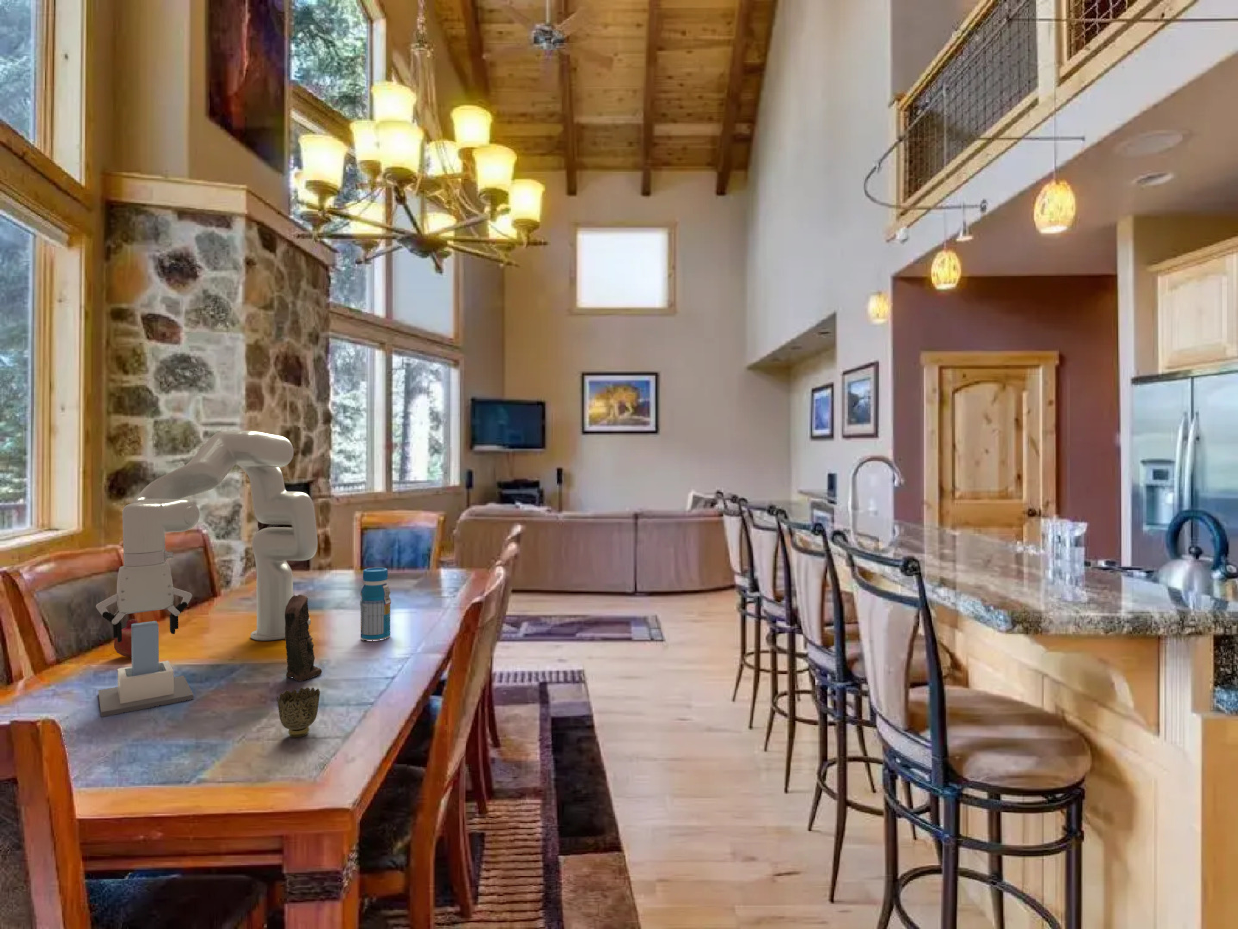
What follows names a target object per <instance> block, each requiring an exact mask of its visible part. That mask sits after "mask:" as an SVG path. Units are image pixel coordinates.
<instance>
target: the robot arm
mask: <svg viewBox="0 0 1238 929" xmlns="http://www.w3.org/2000/svg"><path fill="white" fill-rule="evenodd" d="M294 453H295V452H294V447H293V444H292V442H291V441H290V440H289V439H288V438H286V437H285V436H282V435H277V434H271V433H267V432H266V433H265V432H261V431H255V430H221V431H218V432H216V433H214V434H213V435H212V436H211V437H210V438H208V440H207V441H206V442H205V443H204V444H203V445H202V446H201V448H200V449H198V451H197V452H196V453H195V455H194V456H193V457H191V459H190V461H188V462H187V463H186V464H185V465H183V466H181V467H178V468H176V469H174V470H173V471H170V472H168V473H167V474H165V475H162V476H160V477H158V478H157V479H154V480H153V481H152V482H150V483H149V484H147V485H146V486H145V487H144V488H143V489H142V490H141V491H140V492H139V493H138V494H137V495H136V496H135V498H134V499H133V500H132V502H131V503H129V504H127V505H125V506H123V509H122V513H121V514H122V515H121V516H122V544H123V545H122V547H123V555H122V556H123V565H122V566H119V568H118V573H117V577H116V578H117V580H116V593H115V594H113V595H111V596H109V597H108V598H105V599H103V600H102V601H100V602H98V603H97V604H96V605H95V608H96V609H97V611H98V612H99V614H100V615H101V616H102V618H103V619H105V620H107V621H108V622H110V623H111V624H112V637H113V639H115V638H117V641H118V642H121V641H122V629H123V628H122V625H123V624H122V621H121V620H122V619H123V618H124V617H125V616H126V615H129V614H137V613H145V612H153V611H154V612H155V611H160V610H168V612H170V614H169V633H170V634H171V635H175V634H176V630H179V615H180V614H181V613H182V612H183V611H184V610H185V609H186V608H187V607H188V604H189V603H190V601H191V600H192V597H193V594H192V593H191V592H189V591H186V590H182V589H180V588H176V587H174V584H173V577H172V569H171V566H170V562H167V560H168V559H172V558H174V552H173V551H167V550H166V533H175V532H176V533H179V532H180V533H182V532H186V531H188V530H189V531H190V530H191V529H193V528H194V527H195V526H196V525H197V523H198V522H199V520H200V509H199V507H198V506H197V505H196V503H194V502H193V501H191V500H188V499H184V498H188V497H190V496H195V495H198V494H202V493H206V492H207V491H211V490H214V489H216V488H217V487H219V485H220V484H221V483H222V482H223V480H224V479H225V478H226V477H227V475H229V472H231V470H232V469H233V468H234V466H238V467H240V468H241V469H242V470H243V472H245V474H246V475H247V477H248V479H249V483H250V484H249V485H250V489H251V490H250V491H251V496H252V497H251V498H252V506H253V511H254V513H253V514H254V516H255V519H256V520H257V522H258V523H261V524H265V525H290V526H291V527H288V526H287V527H285V526H283V527H280V526H279V527H278V526H277V527H275V526H273V527H272V526H271V527H265V528H261V529H260V530H258V531H257V532H255V534H254V536H253V538H252V541H251V542H252V544H251V546H252V554H253V557H254V561H255V571H256V629H255V630H254V631H252V632H251V633H250V638H251V639H252V640H253V641H254V640H255V641H277V640H285V609H286V606H287V604H288V602H289V600H290V599H291V598H292V596H294V576H293V575H294V574H293V571H292V568H291V566H290V565H289V563H288V562H287V561H308V560H311V559H312V558H313V557H315V555H316V553H317V551H318V545H319V544H318V542H319V541H318V529H317V522H316V520H317V519H316V511H315V504H314V502H313V500H312V498H311V496H310V495H309V494H308V493H306V492H302V491H287V490H286V486H285V481H284V476H283V472H282V470H281V468H284V467H285V466H288V464H290V463H291V461H292V460H293V458H294ZM174 596H178V597H182V600H181V601H180V603H179V604H177V606H175V605H174V601H175V600H174V598H175V597H174ZM115 603H116V607H117V611H116V612H115V613H114V614H113V613H112V612H110V611H108V609H107V607H108V606H110V605H113V604H115ZM311 622H312V621H311V618H310V617H309V620H308V624H309V626H310V625H311Z"/></svg>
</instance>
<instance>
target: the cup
mask: <svg viewBox="0 0 1238 929" xmlns="http://www.w3.org/2000/svg"><path fill="white" fill-rule="evenodd" d="M320 694H321V691H320V689H319V688H317V689H315V688H314V687H311V690H310V688H309V687H305V688H304V687H301V688H300V689H299V690H298V691H297V690H296V688H293V690H292V691H291V690H288V689H286V690H284V692H283V693H282V692H280V693H279V698H278V696H276V700H277V701H276V702H277V708H278V709H277V711H278V715H279V720H280V723H281V725H282V726H283V727H284V728H285V729H286V730H288V731H287V734H288V736H289V737H291V738H295V739H296V738H302V737H305V736H306V735H308V734H309V732H310V726H312V725H313V723H315V721H316V719H317V716H318V712H319V711H318V710H319V705H320V704H319V703H320V696H321V695H320Z"/></svg>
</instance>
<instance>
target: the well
mask: <svg viewBox="0 0 1238 929" xmlns="http://www.w3.org/2000/svg"><path fill="white" fill-rule="evenodd" d="M174 673H175V672H174V669H173V667H172V666H171V662H170V661H169V660H163V661H159V672H156V673H150V674H144V675H138V676H132V665H131V666H126V667H119V668H117V687H110V688H106V689H105V688H104V689H100V690H99V689H98V691H97V692H98V700H99V702H98V703H99V710H100V715H101V716H100V717H101V718H102V717H103V718H104V717H108V716H113V715H119V714H122V713H123V712H125V713H129V711H130V712H134V711H139V710H145V709H149V708H150V707H151V708H155V707H154V706H156V707H160V706H159V705H161V706H166V705H170V704H175V703H181V701H182V702H185V701H186V700H187V701H191V699H192V700H194V692H193V691H192V689H191V687H190V685H189V683H188V681H187V678H186V677H185V675H179V676H175V677H174ZM187 701H186V702H187Z"/></svg>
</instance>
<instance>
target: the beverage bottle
mask: <svg viewBox="0 0 1238 929" xmlns="http://www.w3.org/2000/svg"><path fill="white" fill-rule="evenodd" d="M388 575H389V571H388V568H386V567H368V568H365V569H363V571H362V580H363V582H364V584H363V586H362V588H361V590H360V596H361V598H360V600H359V606H360V609H359V610H360V639H361V640H362V639H363V640H362V641H364V640H372V641H371V642H374V641H373V640H380V639H385V638H387V639H389V638H390V637H391V604H392V598H391V597H390V595H391V588H390V587H389V584H387V582H386V581H388V578H389V576H388ZM385 640H386V639H385Z"/></svg>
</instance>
